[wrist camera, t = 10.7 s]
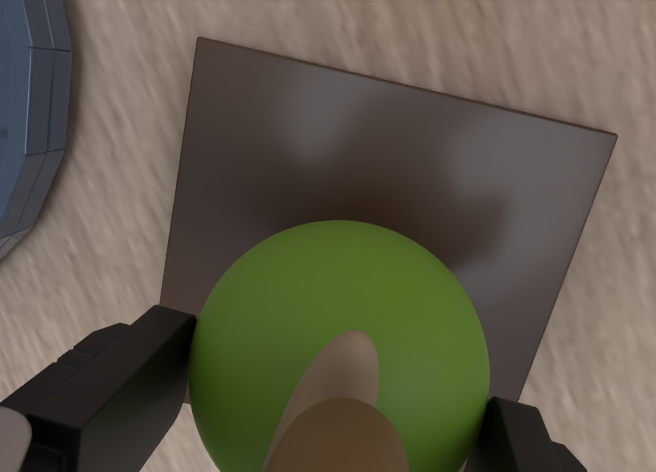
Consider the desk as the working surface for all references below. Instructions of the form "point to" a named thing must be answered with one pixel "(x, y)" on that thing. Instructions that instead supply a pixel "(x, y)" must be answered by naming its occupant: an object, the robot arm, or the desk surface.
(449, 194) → the coaster
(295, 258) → the snail figurine
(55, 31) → the plate
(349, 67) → the desk surface
